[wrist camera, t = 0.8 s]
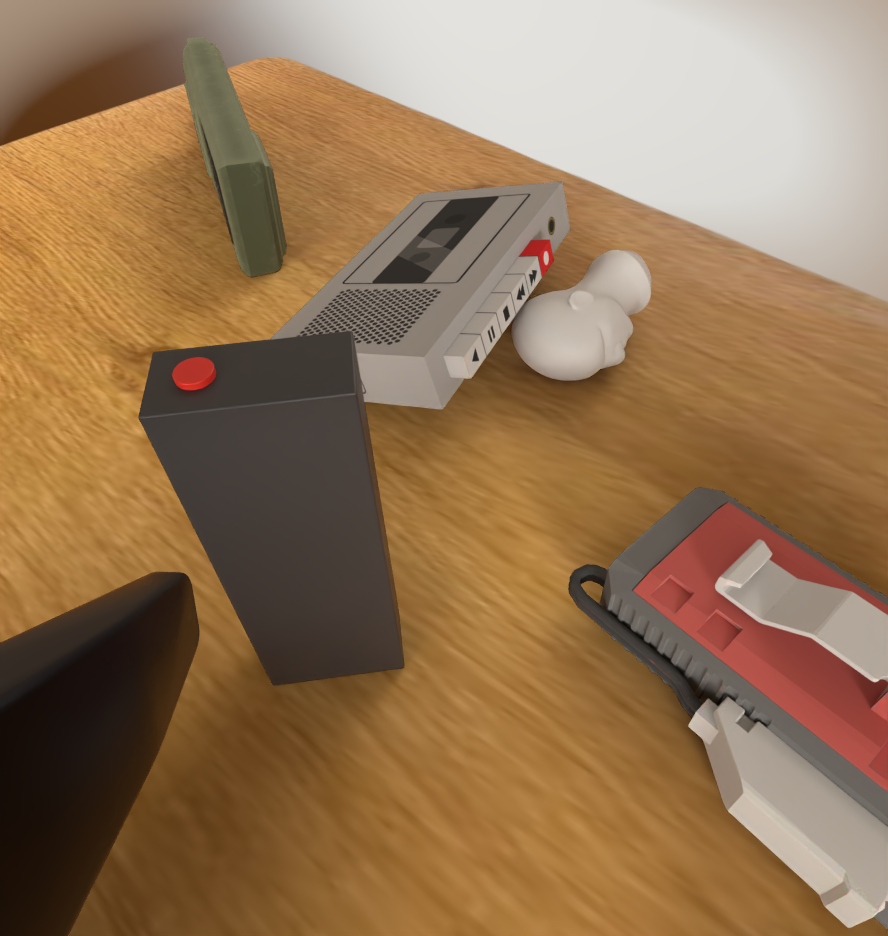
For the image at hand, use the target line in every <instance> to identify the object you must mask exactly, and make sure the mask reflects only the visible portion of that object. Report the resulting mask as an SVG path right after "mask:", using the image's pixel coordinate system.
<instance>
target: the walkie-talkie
mask: <svg viewBox="0 0 888 936" xmlns="http://www.w3.org/2000/svg"><path fill="white" fill-rule="evenodd" d="M586 581H593V582H596V583H598V584H600V585H601V586H603V587H604V588H603V592H602V596H601V600H600V604H598V603H597V602H596V601H595V600H593V599H592V598H591V597H590V596H589V595H587V594H586V592H585V591H584V589H583V588H582V587H581V584H582V583H584V582H586ZM568 590H569V594H570V596H571V597H572V599H573V600H574V602H575V603H576V605H577V606H578V608H580V609H581V610H582V611H583V612H584V613H585V614H587V615H588V616H589V617H590V618H591V619H592V620H594V621H595V622H596V623H597V624H598V625H600V626H601V628H602V630H603V631H606V632H608V633H609V634H610V635H611V636H612V639H614V640H615V641H618V642H619V643H620V644H622V645H623V646H624V649H625V650H627V651H630V652H631V653H632V654H633V655H635V656H636V657H637V658H636V659H637V660H638V661H640V662H643V663H644V664H645V665H646V666H648V667H649V670H650V671H651V672H652V673H656V674H657V675H658V676H659V677H661V678H662V681H663V682H664V683H665V684H668V685H669V686H670V687H671V688H672V689H673V690H674V691H675V693H676V695H677V697H678V699H679V701H680V703H681V705H682V707H683V708H684V709H685V710H686V712H687V713H688V714H689V715H690V716H691V717H692V720H691V722H690V723H689V725H688V727H689V728H690V729H691V730H693V731H694V732H695V733H696V734H697V735H698V736H700V737H701V738H702V739H703V742H704V745H705V748H706V751H707V754H708V757H709V760H710V763H711V766H712V769H713V773H714V776H715V779H716V782H717V785H718V788H719V791H720V794H721V797H722V800H723V803H724V805H725V807H726V809H727V811H728V812H729V813H730V814H732V815H733V816H734V817H735V818H736V819H737V820H738V821H739V822H740V823H741V824H743V825H744V826H745V827H746V828H747V829H748V830H749V831H750V832H751V833H752V834H753V835H755V836H756V837H757V838H758V839H759V840H760V841H761V842H762V843H763V844H764V845H765V846H767V847H768V848H769V849H770V850H771V851H772V852H773V853H774V854H775V855H776V856H777V857H779V858H780V859H781V860H782V861H783V862H784V863H785V864H786V865H787V866H788V867H790V868H791V869H792V870H793V871H794V872H795V873H796V874H797V875H798V876H799V877H800V878H802V879H803V880H804V881H805V882H806V883H807V884H808V885H809V886H810V887H811V888H812V889H814V890H815V891H816V892H817V893H818V894H819V896H820V899H821V901H822V903H823V906H825V907H826V908H827V909H828V910H829V911H830V912H831V913H832V914H833V915H834V916H835V917H837V918H838V919H839V920H840V921H841V922H842V923H843V924H844V925H845V926H846V927H848V928H851V927H853V926H855V925H857V924H860V923H862V922H864V921H866V920H868V919H871V918H873V917H874V918H875V919H876V920H877V921H878V922H879V923H881V924H882V925H883V926H884V927H885V928H886V929H887V930H888V597H886V596H885V595H883V594H882V593H880V592H876V591H875V590H873V589H872V588H870V587H868V584H866V583H865V582H861V581H859V580H858V579H856V578H854V577H853V576H852V574H851V573H849V572H845V571H844V570H842V569H841V568H839V567H838V566H837V564H835V563H834V562H830V561H828V560H827V559H825V558H824V557H822V555H821V554H820V553H818V552H814V551H813V550H811V549H810V548H808V547H807V545H806V544H804V543H801V542H799V541H798V540H796V539H794V538H793V536H792V535H790V534H789V533H785V532H784V531H782V530H780V529H779V527H778V526H777V525H775V524H771V523H770V522H768V521H767V520H765V518H764V517H763V516H761V515H757V514H756V513H754V512H753V511H751V509H750V508H749V507H745V506H744V505H742V504H741V503H739V502H738V500H736V499H735V498H731V497H730V496H728V495H727V494H725V492H724V491H719V490H713V489H707V488H702V487H699V488H695V489H694V490H693V491H692V492H690V493H689V494H688V495H687V496H686V497H685V498H684V499H682V500H681V501H680V502H679V503H678V504H677V505H676V506H675V507H673V508H672V509H671V510H670V511H669V512H668V513H667V514H665V515H664V516H663V517H662V518H661V519H660V520H659V521H658V522H656V523H655V524H654V525H653V526H652V527H651V528H650V529H648V530H647V531H646V532H645V533H644V534H643V535H642V536H641V537H639V538H638V539H637V540H636V541H635V542H634V543H633V544H631V545H630V546H629V547H628V548H627V549H626V550H625V551H624V552H622V553H621V554H620V555H619V556H618V557H617V558H616V559H615V560H614V562H613V563H612V564H611V566H610V567H609V568H608V570H606V569H605V568H602V567H600V566H598V565H589V564H586V565H584V566H582V567H580V568H578V569H576V570H574V572H573V573H572V575H571V576H570V582H569V588H568Z"/></svg>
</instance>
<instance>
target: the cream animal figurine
mask: <svg viewBox="0 0 888 936" xmlns="http://www.w3.org/2000/svg"><path fill="white" fill-rule="evenodd" d="M650 296H651V276H650V272H649V270H648V267H647V265H646V263H645V262H644V260H643V259H642V258H641V257H640V256H639V255H638V254H636V253H635V252H632V251H625V250H610V251H607V252H605V253H603V254H601V255H600V256H598V257H597V258H596V259H595V260H594V261H593V262H592V263H591V264H590V266H589V268H588V270H587V272H586V274H585V277H584V278H583V279H582V280H581V281H580V282H579V283H578V284H577V285H575V286H574V287H572V288H570V289H567V290H560V291H553V292H549V293H545V294H542V295H539V296H536V297H534V298H532V299H530V300H528V301H527V302H526V303H524V304H523V305H522V307H521V308H520V310H519V311H518V312H517V314H516V315H515V317H514V319H513V323H512V329H511V335H512V341H513V344H514V347H515V349H516V351H517V352H518V354H519V356H520V357H521V358H522V360H523V361H524V362H525V363H526V364H527V365H528V366H530V367H531V368H532V369H533V370H535V371H536V372H538V373H540V374H542V375H544V376H546V377H549V378H552V379H556V380H565V381H572V380H582V379H586V378H589V377H590V376H592V375H593V374H595V373H596V372H597V371H599V370H600V369H602V368H607V367H610V366H615V365H618V364H620V363H621V362H622V361H623V360H624V358H625V351H624V348H625V346H626V343H627V339H628V338H630V336H631V335H632V333H633V325H632V322H631V320H630V318H629V317H628V316H629V315H633V314H636V313H638V312H640V311H642V310H643V309H644V308H645V307H646V306H647V304H648V302H649V300H650Z"/></svg>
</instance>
